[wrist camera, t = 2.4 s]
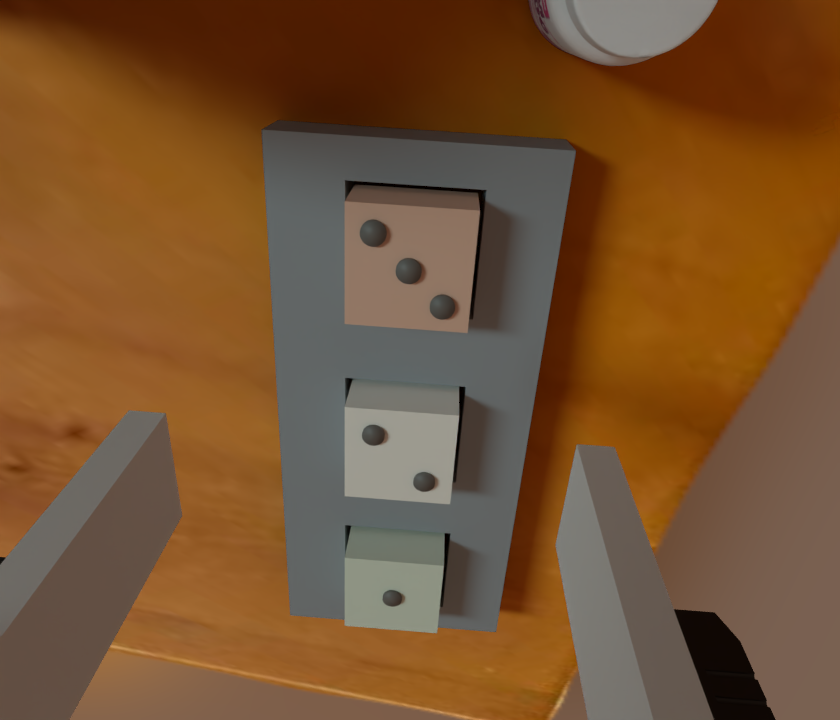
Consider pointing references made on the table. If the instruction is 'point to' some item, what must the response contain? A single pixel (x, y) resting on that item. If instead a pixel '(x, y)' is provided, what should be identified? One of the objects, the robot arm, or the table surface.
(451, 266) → the key three
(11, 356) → the table surface
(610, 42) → the pill bottle
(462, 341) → the key board
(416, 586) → the key one
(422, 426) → the key two
